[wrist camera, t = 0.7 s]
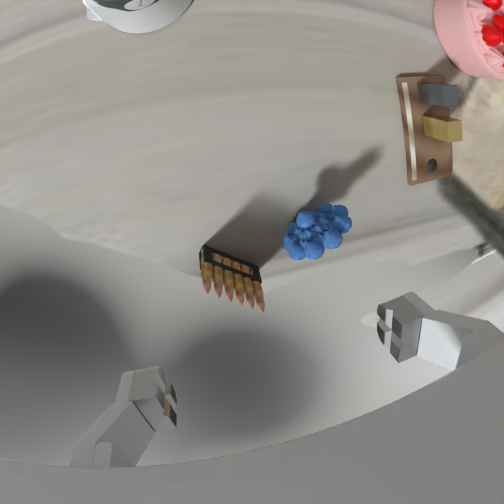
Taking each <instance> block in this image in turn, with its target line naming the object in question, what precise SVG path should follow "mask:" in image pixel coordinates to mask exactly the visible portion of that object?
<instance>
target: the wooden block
mask: <svg viewBox="0 0 504 504" xmlns="http://www.w3.org/2000/svg"><path fill="white" fill-rule="evenodd" d="M423 124H424V135H426V136H430V137H433V138H436V139H439V140H442V141H445V142H448V143H450V142H456V141H462V124H461V120H458V119H454V118H450V117H445V116H441V115H428V116H423Z"/></svg>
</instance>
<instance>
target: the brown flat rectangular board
mask: <svg viewBox="0 0 504 504" xmlns="http://www.w3.org/2000/svg"><path fill="white" fill-rule="evenodd" d="M396 81H397V87H398V93H399V99H400V106H401V113H402V121H403V129H404V138H405V149H406V161H407V176H408V184H409V185H410V186H412V185H416V184H419V183H423V182H427V181H431V180H435V179H439V178H443V177H447V176H451V175H452V156H451V142H450V143H448V142H445V141H442V140H439V139H436V138H433V137H430V136H426V135H424V124H423V116H428V115H441V116H445V117H449V110H448V106H446V107H445V106H439V105H433V104H427V103H421V102H420V101H419V94H418V88H417V83H441V84H445V78H444V76H410V77H396Z"/></svg>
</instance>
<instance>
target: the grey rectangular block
mask: <svg viewBox="0 0 504 504" xmlns="http://www.w3.org/2000/svg"><path fill="white" fill-rule="evenodd" d="M417 88H418V94H419V101H420V102H421V103H427V104H433V105H439V106H445V107H446V106H459V99H458V91H457V85H451V84H441V83H417Z"/></svg>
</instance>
